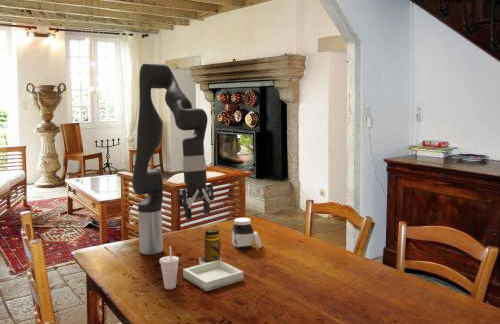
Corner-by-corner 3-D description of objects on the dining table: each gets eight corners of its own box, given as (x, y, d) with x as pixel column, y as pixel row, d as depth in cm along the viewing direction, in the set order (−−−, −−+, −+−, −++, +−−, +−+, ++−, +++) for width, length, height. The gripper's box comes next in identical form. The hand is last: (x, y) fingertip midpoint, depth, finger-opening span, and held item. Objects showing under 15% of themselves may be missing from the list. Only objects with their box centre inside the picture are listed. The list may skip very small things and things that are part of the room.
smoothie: (175, 291, 153) (174, 250, 151) (157, 290, 155) (155, 248, 153) (182, 283, 160) (181, 243, 158) (164, 282, 161) (163, 242, 159)
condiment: (222, 263, 179) (221, 232, 177) (199, 264, 178) (198, 233, 176) (220, 256, 186) (220, 227, 184) (198, 257, 185) (198, 228, 183)
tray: (183, 277, 165) (183, 269, 165) (219, 267, 174) (219, 259, 174) (206, 291, 153) (206, 282, 153) (243, 280, 162) (243, 271, 162)
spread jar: (229, 244, 200) (229, 217, 199) (253, 241, 205) (253, 214, 203) (241, 253, 190) (240, 225, 188) (266, 249, 194) (266, 221, 193)
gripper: (201, 166, 166) (204, 211, 167) (171, 171, 155) (174, 219, 156) (217, 166, 161) (220, 213, 163) (187, 171, 150) (190, 222, 152)
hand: (197, 216), depth 160 cm, fingers open, 8 cm apart
